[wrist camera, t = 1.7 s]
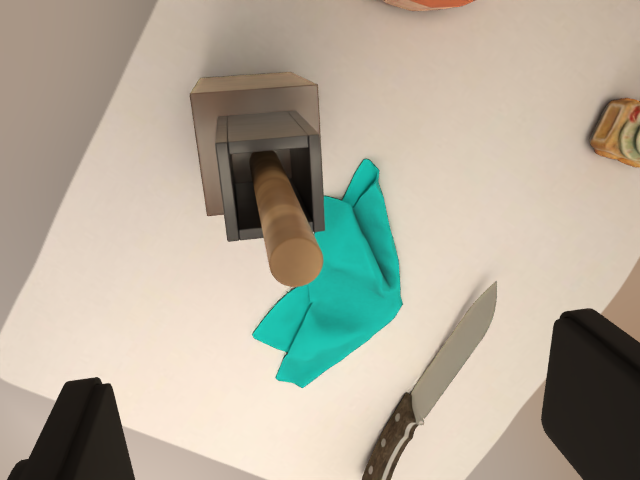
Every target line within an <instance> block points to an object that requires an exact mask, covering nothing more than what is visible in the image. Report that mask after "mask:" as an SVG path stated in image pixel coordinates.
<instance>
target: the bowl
mask: <svg viewBox="0 0 640 480" xmlns="http://www.w3.org/2000/svg"><path fill="white" fill-rule="evenodd" d="M383 1H384V2H386V3H388V4H391V5H394V6H397V7H400V8H403V9H406V10H409V11H426V10H440V9H447V8H454V7H460V6H463V5H466V4H468V3H471V2H473V1H475V0H383Z"/></svg>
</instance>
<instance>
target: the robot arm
mask: <svg viewBox="0 0 640 480" xmlns="http://www.w3.org/2000/svg"><path fill="white" fill-rule="evenodd" d="M541 418H542V419H541V420H542V425H543V428H544V431H545V433H546V434H547V436H548V437H549V438H550V439H551V440H552V442H553V443H554V444H555V445H556V447H557V448H558V449H559V450H560V452H561V453H562V454H563V455H564V456H565V458H566V459H567V460H568V461H569V463H570V464H571V465H572V466H573V468H574V469H575V470H576V471H577V473H578V474H579V475H580V476H581V477H582V479H583V480H640V343H639V342H638V341H637V340H635V339H634V338H632V337H631V336H630V335H628V334H627V333H626V332H624V331H623V330H621V329H620V328H619V327H617V326H616V325H614V324H613V323H612V322H610V321H609V320H608V319H606V318H604V316H602V315H601V314H599V313H598V312H597V311H595V310H593V309H589V308H587V309H580V310H573V311H566V312H564V313H562V314H561V316H560V319H558V320H556V321H555V323H554V326H553V334H552V341H551V348H550V356H549V363H548V371H547V378H546V386H545V393H544V401H543V408H542V417H541ZM7 480H135V477H134V474H133V469H132V465H131V461H130V457H129V453H128V449H127V445H126V441H125V437H124V433H123V429H122V424H121V420H120V416H119V412H118V408H117V404H116V400H115V396H114V392H113V388H112V386H111V384H109V383H107V384H102V382H101V380H100V378H98V377H95V378H88V379H81V380H74V381H68V382H66V383H65V384H64V386H63V388H62V390H61V392H60V394H59V396H58V398H57V400H56V403H55V405H54V407H53V409H52V411H51V413H50V415H49V417H48V419H47V421H46V423H45V425H44V428H43V430H42V432H41V434H40V436H39V438H38V440H37V442H36V444H35V447H34V448H33V451H32V453H31V455H30V457H29V459H25V460H21V461H19V462H18V463H17V464H16V465H15V467H14V468H13V470H12V471H11V473H10V475H9V477H8V479H7Z"/></svg>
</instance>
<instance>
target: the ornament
mask: <svg viewBox="0 0 640 480" xmlns="http://www.w3.org/2000/svg"><path fill="white" fill-rule="evenodd" d="M589 142H590V144H591V146H592V147H593V148H594V151H595V153H596V154H598V155H601V156H604V157H608V158H611V159H617V160H618V161H620V162H622V163H624V164H627V165H630V166H633V167H640V101H637V100H635V99H629V98H624V99H620V100H613V101H611V102H609V104H607V105H606V107H605V109H604V111H603V113H602V115H601V117H600V119H599V121H598V123H597V125H596V127H595V129H594V131H593V133H592V135H591V137H590V139H589Z"/></svg>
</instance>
